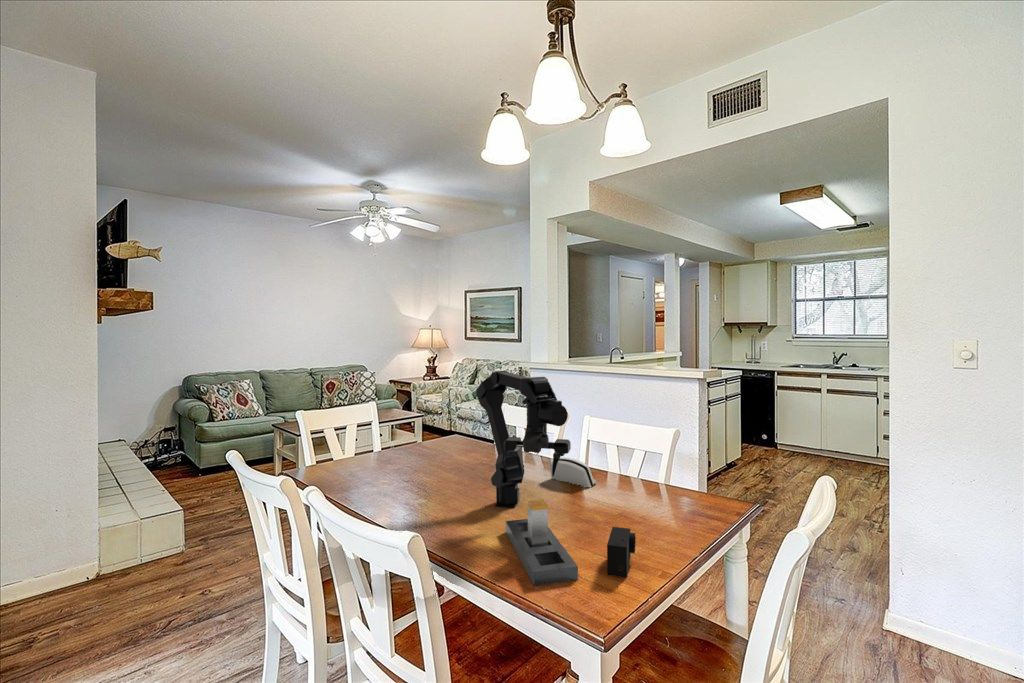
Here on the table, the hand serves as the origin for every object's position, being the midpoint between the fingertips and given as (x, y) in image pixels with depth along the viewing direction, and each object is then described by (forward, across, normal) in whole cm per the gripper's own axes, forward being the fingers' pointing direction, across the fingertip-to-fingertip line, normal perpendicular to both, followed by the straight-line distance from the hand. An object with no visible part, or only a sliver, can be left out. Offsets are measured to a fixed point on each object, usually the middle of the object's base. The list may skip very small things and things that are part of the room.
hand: (537, 474), depth 137 cm
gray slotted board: (+13, +4, -20) cm, 25 cm away
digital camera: (+13, +24, -22) cm, 35 cm away
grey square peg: (+13, +4, -20) cm, 25 cm away
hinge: (+13, +5, +35) cm, 38 cm away
